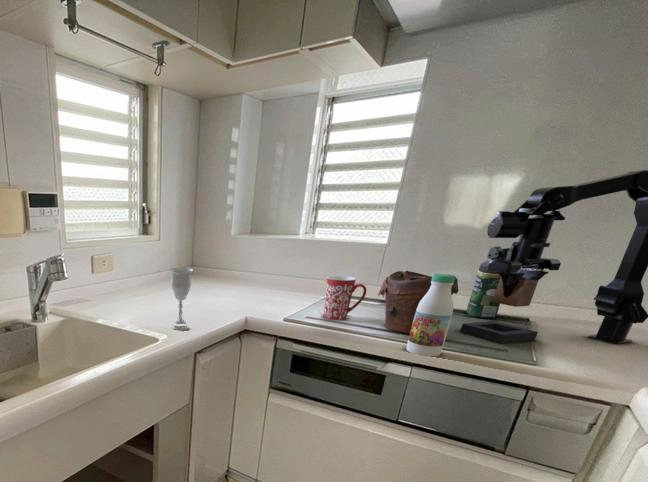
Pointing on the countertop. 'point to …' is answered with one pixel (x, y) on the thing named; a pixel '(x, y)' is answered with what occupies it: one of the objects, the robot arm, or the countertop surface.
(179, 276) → the chalice
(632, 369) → the countertop surface
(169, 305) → the countertop surface
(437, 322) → the milk bottle
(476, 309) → the coffee jar
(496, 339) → the dark square frame
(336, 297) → the mug
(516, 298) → the walnut block
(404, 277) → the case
